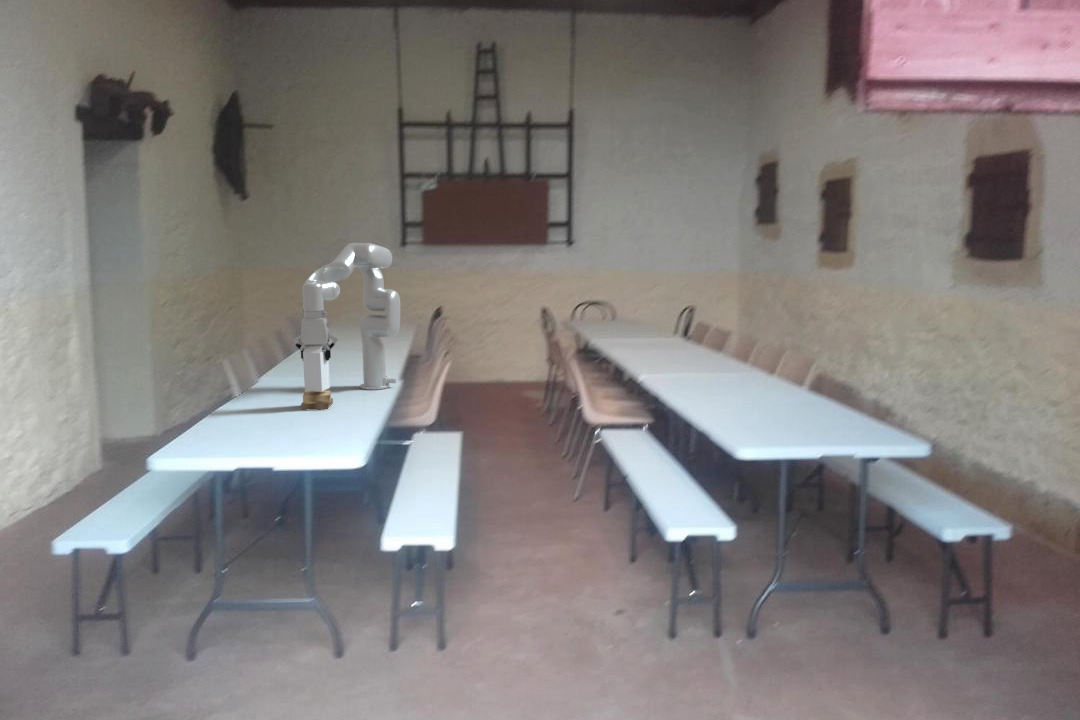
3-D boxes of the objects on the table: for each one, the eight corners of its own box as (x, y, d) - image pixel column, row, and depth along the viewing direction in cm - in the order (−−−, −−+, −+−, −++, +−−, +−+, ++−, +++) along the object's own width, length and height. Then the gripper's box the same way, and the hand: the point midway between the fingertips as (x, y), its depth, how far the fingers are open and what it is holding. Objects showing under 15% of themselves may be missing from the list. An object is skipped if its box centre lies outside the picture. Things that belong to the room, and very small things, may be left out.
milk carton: (321, 391, 337) (319, 342, 334) (304, 391, 338) (302, 342, 335) (329, 388, 344) (327, 340, 341) (313, 387, 345) (310, 339, 342)
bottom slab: (333, 405, 347) (332, 398, 347) (328, 411, 338) (327, 403, 337) (307, 406, 347) (307, 398, 346) (301, 411, 337) (301, 403, 337)
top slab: (331, 397, 348) (330, 390, 347) (330, 402, 338) (329, 395, 337) (304, 398, 346) (304, 391, 345) (303, 403, 336) (302, 396, 335)
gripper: (338, 313, 341) (340, 358, 344) (292, 314, 340) (295, 359, 342) (335, 315, 333) (337, 361, 336) (288, 316, 332) (291, 362, 335)
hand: (316, 360), depth 339 cm, fingers closed on milk carton, 8 cm apart
